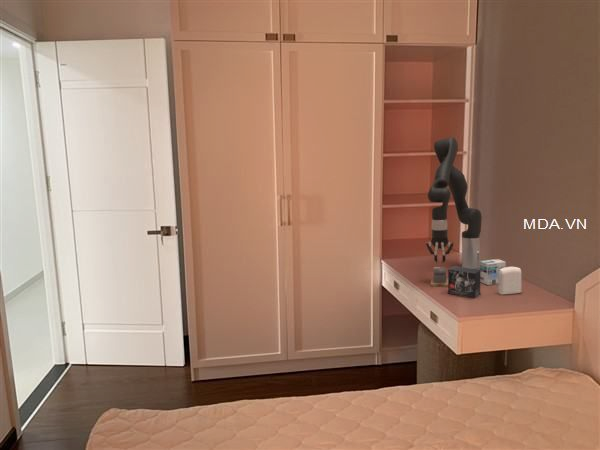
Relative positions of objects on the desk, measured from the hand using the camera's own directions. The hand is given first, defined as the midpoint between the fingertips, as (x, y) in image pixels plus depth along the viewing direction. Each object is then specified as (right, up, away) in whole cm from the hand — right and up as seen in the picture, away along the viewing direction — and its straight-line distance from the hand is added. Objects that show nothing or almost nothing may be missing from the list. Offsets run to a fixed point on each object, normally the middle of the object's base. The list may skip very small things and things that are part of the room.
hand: (439, 262), depth 239 cm
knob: (+1, -10, +2) cm, 10 cm away
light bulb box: (+26, -10, -1) cm, 28 cm away
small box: (+7, -14, -16) cm, 23 cm away
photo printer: (+27, -13, -18) cm, 35 cm away
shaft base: (+2, -11, +2) cm, 11 cm away
